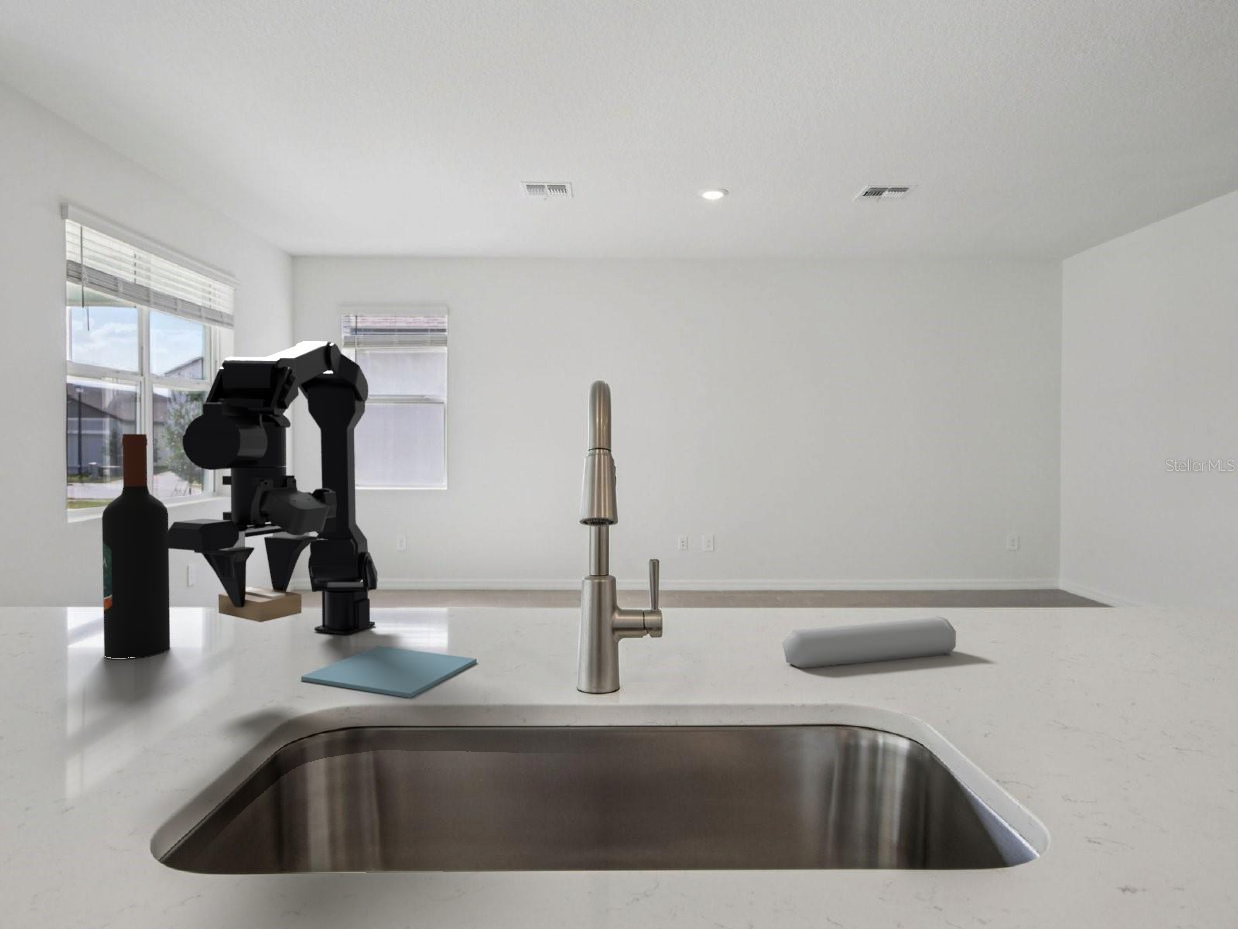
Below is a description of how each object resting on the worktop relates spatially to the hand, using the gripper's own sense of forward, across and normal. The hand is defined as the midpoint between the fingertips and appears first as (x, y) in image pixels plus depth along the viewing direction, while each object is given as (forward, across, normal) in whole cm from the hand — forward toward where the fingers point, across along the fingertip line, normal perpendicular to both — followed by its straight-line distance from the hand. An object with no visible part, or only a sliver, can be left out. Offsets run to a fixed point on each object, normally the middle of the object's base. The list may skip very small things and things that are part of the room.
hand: (260, 602), depth 82 cm
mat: (+11, +12, -9) cm, 18 cm away
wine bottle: (+11, +6, +29) cm, 32 cm away
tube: (+11, +40, -65) cm, 78 cm away
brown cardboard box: (+1, 0, 0) cm, 1 cm away
